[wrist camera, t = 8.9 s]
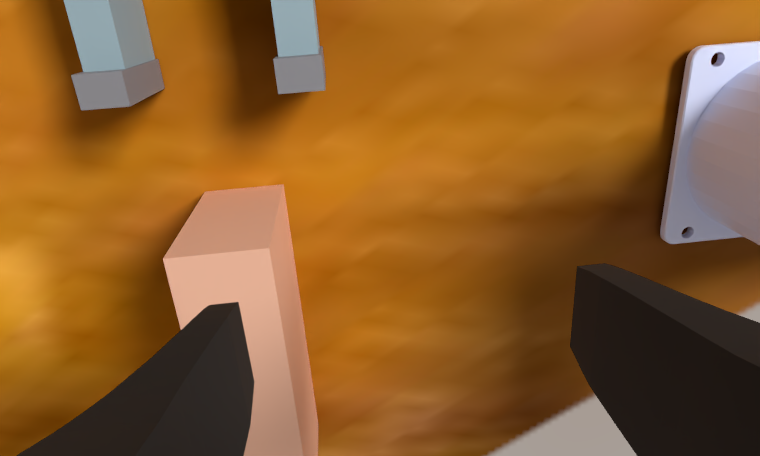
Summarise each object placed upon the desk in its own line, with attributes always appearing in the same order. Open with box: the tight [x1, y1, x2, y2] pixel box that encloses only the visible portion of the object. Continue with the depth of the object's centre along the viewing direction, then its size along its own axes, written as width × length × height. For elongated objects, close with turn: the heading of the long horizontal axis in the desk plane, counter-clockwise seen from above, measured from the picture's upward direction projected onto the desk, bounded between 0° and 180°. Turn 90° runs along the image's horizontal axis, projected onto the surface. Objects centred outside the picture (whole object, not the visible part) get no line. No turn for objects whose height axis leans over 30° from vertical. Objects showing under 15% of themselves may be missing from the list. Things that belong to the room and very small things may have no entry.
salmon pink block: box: [163, 185, 318, 456], centre depth 20 cm, size 3×12×6 cm, turn 4°
